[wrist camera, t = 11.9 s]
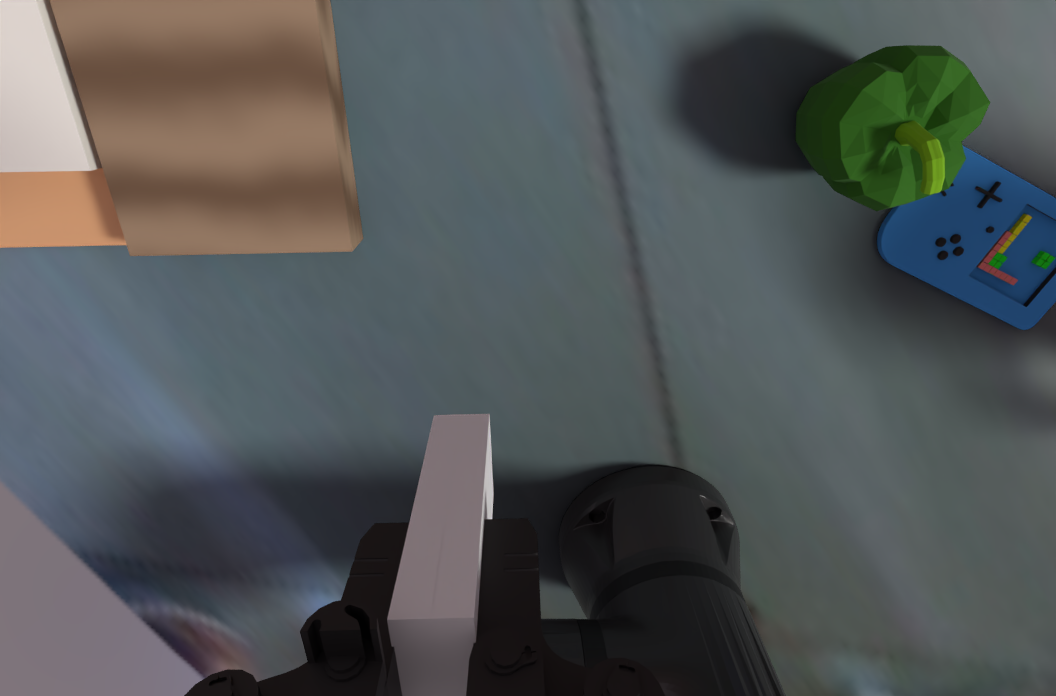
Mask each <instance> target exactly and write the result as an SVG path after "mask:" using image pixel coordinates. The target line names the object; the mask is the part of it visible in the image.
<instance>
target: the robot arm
mask: <svg viewBox="0 0 1056 696" xmlns="http://www.w3.org/2000/svg"><path fill="white" fill-rule="evenodd" d="M493 495H494V493H493V474H492V454H491V435H490V416H489V414H466V415H434V418H433V422H432V426H431V431H430V435H429V440H428V444H427V448H426V453H425V457H424V461H423V466H422V470H421V474H420V479H419V483H418V487H417V492H416V496H415V500H414V505H413V509H412V513H411V518H410V522H409V523H375V524H374V525H373V526H372V527H371V528H370V530H369V531H368V532H367V533H366V534H365V535H364V536H363V538H362V539H361V540H360V543H359V546H358V549H357V552H356V555H355V561H354V562H353V565H352V568H351V571H350V577H349V578H348V580H347V583H346V586H345V590H344V593H343V596H342V599H341V601H335V602H332V603H330V604H328V605H326V606H324V607H322V608H320V609H318V610H317V611H316V612H315V613H314V614H313V615H311V616H310V617H309V618H308V619H307V621H306V622H305V624H304V626H303V627H302V629H301V631H300V634H301V637H302V641H303V645H304V649H305V653H306V656H307V660H308V662H306V663H305V664H303V665H302V666H300V667H299V668H296V669H294V670H291V671H289V672H287V673H284V674H281V675H277V676H274V677H271V678H268V679H265V680H262V681H259V682H256V680H255V678H254V677H253V675H251V674H249V673H247V672H245V671H243V670H224V671H221V672H218V673H215V674H212V675H210V676H208V677H207V678H205V679H203V680H202V681H200V682H199V683H197V684H195V685H194V686H193V688H191V690H189V692H188V693H187V694H186V695H185V696H786V695H785V693H784V691H783V688H782V686H781V684H780V681H779V679H778V677H777V674H776V672H775V670H774V667H773V665H772V663H771V660H770V658H769V656H768V653H767V651H766V649H765V646H764V644H763V642H762V639H761V637H760V635H759V632H758V630H757V628H756V625H755V623H754V621H753V618H752V616H751V614H750V611H749V609H748V607H747V605H746V602H745V600H744V598H743V595H742V593H741V590H740V542H739V534H738V529H737V526H736V523H735V520H734V518H733V516H732V514H731V512H730V509H729V507H728V505H727V503H726V501H725V500H724V498H723V497H722V495H721V494H720V493H719V492H718V490H717V489H716V488H715V487H713V486H712V485H711V484H710V483H709V482H707V481H706V480H704V479H702V478H701V477H699V476H697V475H695V474H692V473H690V472H687V471H684V470H680V469H676V468H671V467H662V466H646V467H637V468H631V469H627V470H623V471H620V472H617V473H614V474H611V475H609V476H607V477H605V478H603V479H601V480H599V481H597V482H595V483H594V484H592V485H591V486H589V487H588V488H587V489H586V490H584V491H583V492H582V493H581V494H580V495H579V496H578V497H577V498H576V499H575V500H574V501H573V503H572V504H571V505H570V507H569V508H568V510H567V512H566V513H565V515H564V518H563V520H562V523H561V526H560V531H559V548H560V559H561V565H562V569H563V572H564V575H565V578H566V580H567V582H568V584H569V586H570V587H571V589H572V591H573V593H574V595H575V597H576V599H577V600H578V602H579V604H580V606H581V608H582V610H583V612H584V613H585V615H586V617H587V619H541V611H540V587H539V564H538V541H537V533H536V531H535V530H534V528H533V526H532V525H531V523H530V522H529V520H528V518H521V519H492V514H493Z"/></svg>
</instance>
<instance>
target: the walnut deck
mask: <svg viewBox="0 0 1056 696" xmlns="http://www.w3.org/2000/svg"><path fill="white" fill-rule="evenodd" d="M50 4H51V7H52V10H53V13H54V16H55V19H56V23H57V26H58V29H59V32H60V35H61V38H62V42H63V45H64V48H65V51H66V54H67V57H68V61H69V64H70V67H71V70H72V73H73V76H74V80H75V83H76V86H77V89H78V92H79V95H80V99H81V102H82V105H83V108H84V111H85V114H86V118H87V121H88V124H89V127H90V130H91V133H92V137H93V140H94V143H95V146H96V149H97V152H98V156H99V159H100V162H101V165H102V168H103V171H104V175H105V178H106V181H107V184H108V187H109V190H110V194H111V197H112V200H113V203H114V206H115V209H116V213H117V216H118V219H119V222H120V225H121V228H122V232H123V235H124V238H125V241H126V244H127V247H128V251H129V254H130V256H156V255H204V254H253V253H302V252H351V251H353V250H354V249H355V248H356V246H357V245H358V244H359V243H360V242H361V241H362V239H363V234H362V226H361V219H360V212H359V205H358V198H357V190H356V183H355V176H354V169H353V162H352V154H351V147H350V140H349V133H348V126H347V118H346V111H345V104H344V97H343V89H342V82H341V75H340V68H339V61H338V53H337V46H336V39H335V32H334V25H333V17H332V10H331V3H330V0H50Z"/></svg>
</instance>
